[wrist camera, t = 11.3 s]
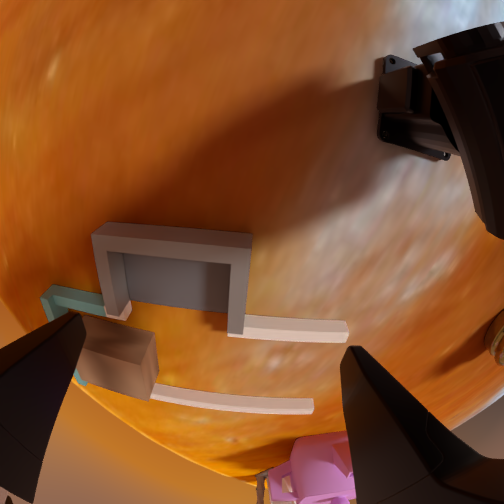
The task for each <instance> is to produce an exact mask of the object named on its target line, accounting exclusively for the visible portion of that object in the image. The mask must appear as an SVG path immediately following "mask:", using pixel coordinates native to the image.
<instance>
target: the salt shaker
mask: <svg viewBox="0 0 504 504" xmlns="http://www.w3.org/2000/svg"><path fill="white" fill-rule="evenodd" d="M484 344H485V346H486V348H487V349H488V350H489V352H490V354H491V355H492V356H495V361H496V363H497V365H499V366H504V310H503V311H502V312H501V313H500V314H499V315H498V316H497V317H496V319H495V320H494V321H493V323H492V324H491V326H490V327H489V329H488V331H487V333H486V336H485V340H484Z"/></svg>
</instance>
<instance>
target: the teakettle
mask: <svg viewBox="0 0 504 504" xmlns="http://www.w3.org/2000/svg"><path fill="white" fill-rule="evenodd" d="M286 476H290V483H291V487H292V491H293V492H288V493H282V478H284V477H286ZM268 478H269V486H270V494H271V501H296V504H327V503H330V504H350V503H349V501H348V500H349V499H354V498H356V492H355V484H354V476H353V469H352V461H351V455H350V448H349V442H348V435H347V430H346V431H339V432H332V433H325V434H318V435H311V436H305V437H300V438H297V439H296V441H295V443H294V446H293V449H292V452H291V455H290V460H289V461H287V462H285V463H283V464H281V465H279V466H277V467H275V468H273V469H271V470H269V471H268Z"/></svg>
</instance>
